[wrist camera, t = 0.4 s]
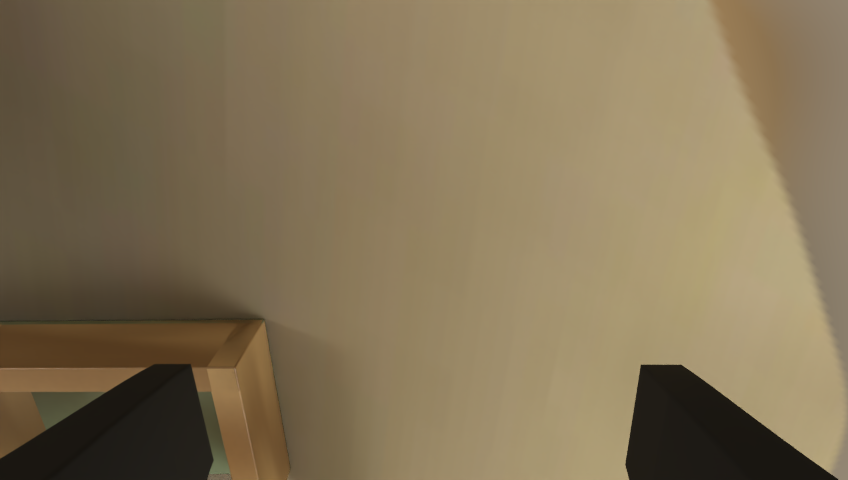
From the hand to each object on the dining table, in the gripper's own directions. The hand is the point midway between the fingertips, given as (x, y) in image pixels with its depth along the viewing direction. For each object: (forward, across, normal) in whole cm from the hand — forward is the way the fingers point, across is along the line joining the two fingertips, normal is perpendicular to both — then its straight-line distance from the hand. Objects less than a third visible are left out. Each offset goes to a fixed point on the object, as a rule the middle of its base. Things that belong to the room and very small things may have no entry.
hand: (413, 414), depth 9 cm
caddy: (+10, +12, +8) cm, 18 cm away
